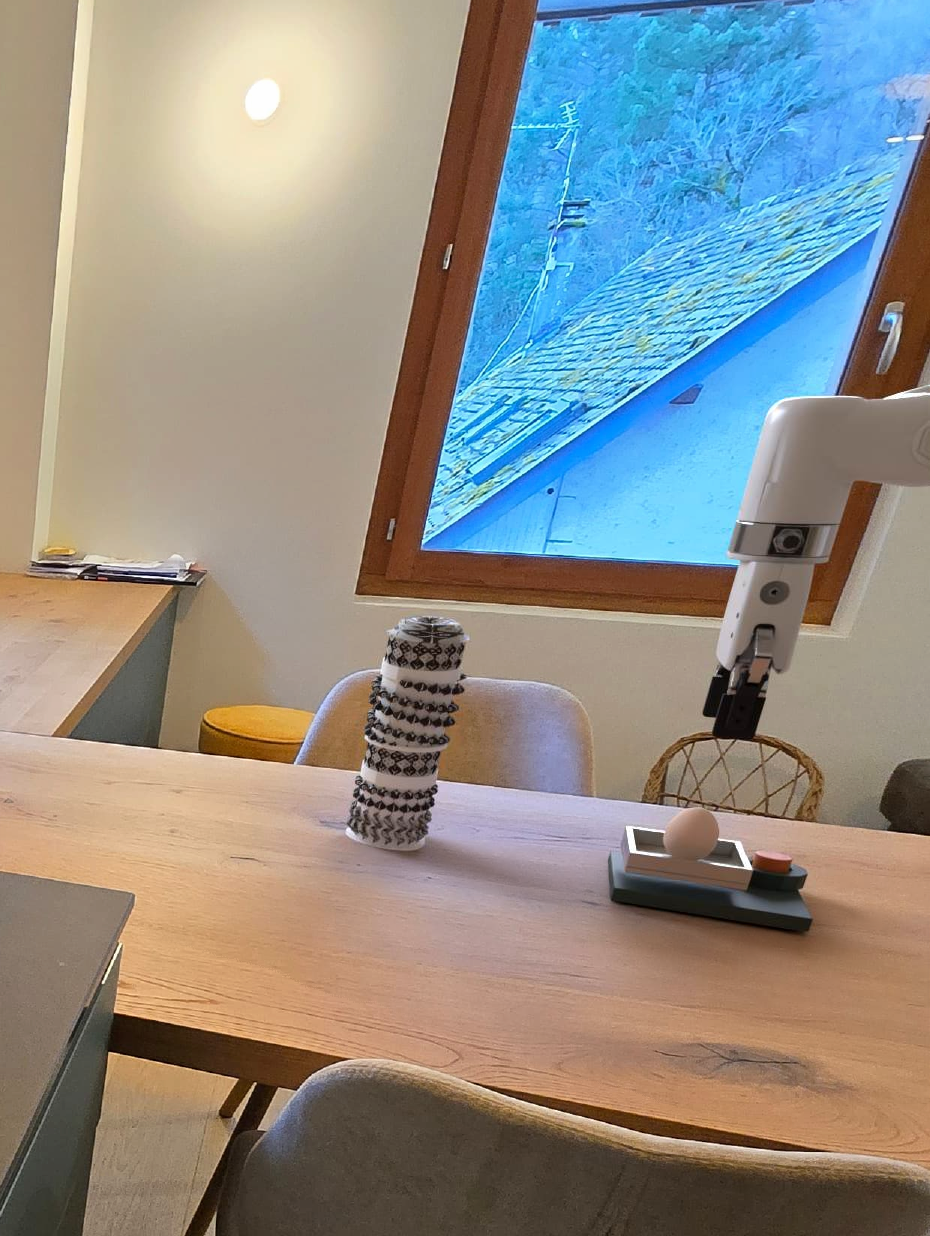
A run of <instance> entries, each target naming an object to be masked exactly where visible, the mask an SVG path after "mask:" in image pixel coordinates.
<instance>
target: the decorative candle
mask: <svg viewBox="0 0 930 1236" xmlns="http://www.w3.org/2000/svg"><path fill="white" fill-rule="evenodd" d="M386 634H387V635H388V640H387V644H386V649H385V650H386V651H385V654H384V655H385V656H384V657H383V658H382V662H381V668H380V673H379V674H378V675H376V676H375V678H374V679H372V681H371V690H372V692H371V693H370V694H369V696H368V697H369V698H368V703H369V704H370V705H372V707H371V708H370V710H368V711H367V713H366V721H367V723H366V724H365V725H364V730H363V734H364V740H365V741H366V742H367V744H366V745H367V746H366V751H365V756H364V758H363V760H362V763H361V768H360V774H357V775H356V777H355V780H354V784H355V785H356V786H358V787H355V788H353V790H352V792H353V793H352V797H353V798H354V799H355V800H353V801H352V802H351V803H350V804H349V809H348V813H350V814H349V815H348V816H347V820H346V825H347V828H346V830H345V834H346V835H347V837H349V838H350V839H352V840H354V841H356V842H358V843H361V844H364V845H368V846H371V847H374V848H379V849H385V850H390V851H403V852H404V851H405V852H408V851H409V852H410V851H417V850H419V849H421V848H423V847H424V846H425V844H426V843H425V842H426V838H425V836H427V835H429V828H430V827H429V825H428V824H429V823H431V822H432V820H433V819H432V816H433V815H432V812H431V811H430V809H431V808H433V807H435V797H433V796H434V795H436V794H438V792H439V789H438V788H439V786H438V784H437V780H438V776H439V768H438V766H439V763H440V759H441V753H442V751H443V750H445V749H447V748H448V743H450V740H451V738H450V736H449V735H448V734H447V733H446V732H445V730H446V728H450V727H452V726H455V725H456V719H455V718H454V717H453V716H452V715H451V714H453V713H456V712H457V711H459V710H460V706H459V704H457V703H456V702H455V701H454V700H453V697H454V696H459V695H460V694H463V693H465V690H466V689H465V687H464V686H463V685H462V684H461V683H459V682H461V681H463V680H466V679H467V674H465V673H462V670H463V664H462V663H463V662H462V661H463V657H464V653H465V647H466V643H467V642H468V641H470V639H471V638H470V636H469V635H467V634H465V633H464V631H463V627H462V625H461V624H460V622H459V621H456V620H454V619H451V618H448V617H441V616H433V615H432V616H431V615H413V616H408V617H404V618H402V619H400V620H399V621H398V623H396V625H395V626H394V627H393V628H391V629H386Z"/></svg>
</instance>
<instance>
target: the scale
mask: <svg viewBox="0 0 930 1236" xmlns="http://www.w3.org/2000/svg"><path fill="white" fill-rule="evenodd" d="M754 857H755V856H747V858H748V860H749V862H750V864H751V867H752V869H753V873H752V876H751V879H750V882H749V884H748V888H747V890H740V889H733V888H727V887H720V886H714V885H707V884H701V883H694V882H688V881H681V880H674V879H668V878H661V877H655V876H648V875H642V874H635V873H629V872H625V871H624V864H623V857H622V852H617V851H609V855H608V857H607V869H608V871H607V872H608V884H609V896H610V901H613V902H620V903H625V904H632V905H638V906H644V907H649V908H650V907H651V908H657V909H662V910H669V911H675V912H680V913H688V914H693V915H699V916H704V917H705V916H706V917H711V918H712V917H713V918H718V919H725V920H731V921H736V922H742V923H749V924H755V925H761V926H767V927H768V926H769V927H773V928H779V929H786V930H791V931H798V932H803V933H809V932H810V929H811V926H812V923H813V920H814V919H813V917H812V915H811V912H810V910H809V908H808V907H807V904H806V902H805V901H804V899H803V897H802V894H801V893H800V891H799V890H802V889H804V886H805V883H806V880H807V878H808V875H809V872H808V871H807V869H806V868H804V867H801V866H799V865H797V864H795V863H793V862H792V863H791V866H790V868H789V871H788V872H774V871H767V870H764V869H760V868H756V867H754V866H752V863H753V860H754Z"/></svg>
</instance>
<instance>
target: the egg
mask: <svg viewBox="0 0 930 1236" xmlns="http://www.w3.org/2000/svg"><path fill="white" fill-rule="evenodd" d="M664 831H665V833H664V837H663V842H664V846H665V849H666V850H667V852H668V853H669V854H670V855H671V856H672V857H676V858H682V859H689V860H696V861H697V860H700V859H702V858H704V857H706V856H707V855H708V854H710V853H711V852H712V851H713V849H714V848H715V846H716V844H717V841H718V839H720V827H719V823H718V821H717V818H716V816H715V815H714V814H713V813H712V812H711V811H710V810H708V809H707V808H704V807H699V806H695V807H689V808H686V809H684V810H681V811H680V812H679V813H677V814H676V815H675V816H674V817H673V818H672V819H671V820H670V821H669V822H668V824H667V826H666V828H665V830H664Z"/></svg>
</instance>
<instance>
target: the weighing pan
mask: <svg viewBox="0 0 930 1236" xmlns="http://www.w3.org/2000/svg"><path fill="white" fill-rule="evenodd" d="M664 833H665V830H659V829H658V830H657V829H651V828H643V827H636V826H628V825H626V826H625V828H624V831H623V836H622V838H621V842H620V848H621V853H622V857H623V864H624V871H625V872H629V873H635V874H642V875H648V876H655V877H661V878H668V879H674V880H681V881H688V882H694V883H701V884H707V885H714V886H720V887H727V888H733V889H740V890H747V888H748V884H749V882H750V879H751V876H752V873H753V869H752V867H751V864H750V862H749V860H748V858H747V857H748V855H747V853H746V851H745V848H744V846H743V844H742V841H740V840H739V841H738V840H731V839H723V838H718V841H717V844H716V846H715V848H714V849H713V851H712V852H711V853H710V854H708V855H707V856H706V857H704V858H702V859H700V860H697V861H696V860H689V859H682V858H676V857H672V856H671V855H670V854H669V853H668V852H667V850H666V849H665V846H664V842H663V837H664Z"/></svg>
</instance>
